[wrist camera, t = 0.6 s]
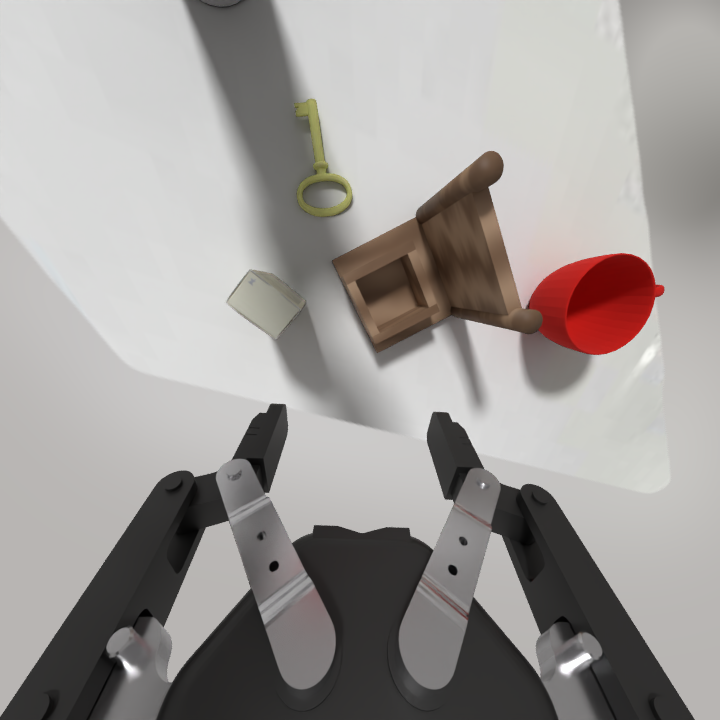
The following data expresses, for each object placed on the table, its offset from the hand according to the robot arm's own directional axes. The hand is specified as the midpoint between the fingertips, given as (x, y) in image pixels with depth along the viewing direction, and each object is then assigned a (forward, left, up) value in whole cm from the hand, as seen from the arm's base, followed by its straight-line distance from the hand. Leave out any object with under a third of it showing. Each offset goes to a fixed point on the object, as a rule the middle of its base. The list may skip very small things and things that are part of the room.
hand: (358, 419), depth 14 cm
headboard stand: (-2, +12, -27) cm, 29 cm away
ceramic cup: (+12, +35, -27) cm, 46 cm away
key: (-20, +8, -28) cm, 35 cm away
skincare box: (-8, -5, -27) cm, 29 cm away
